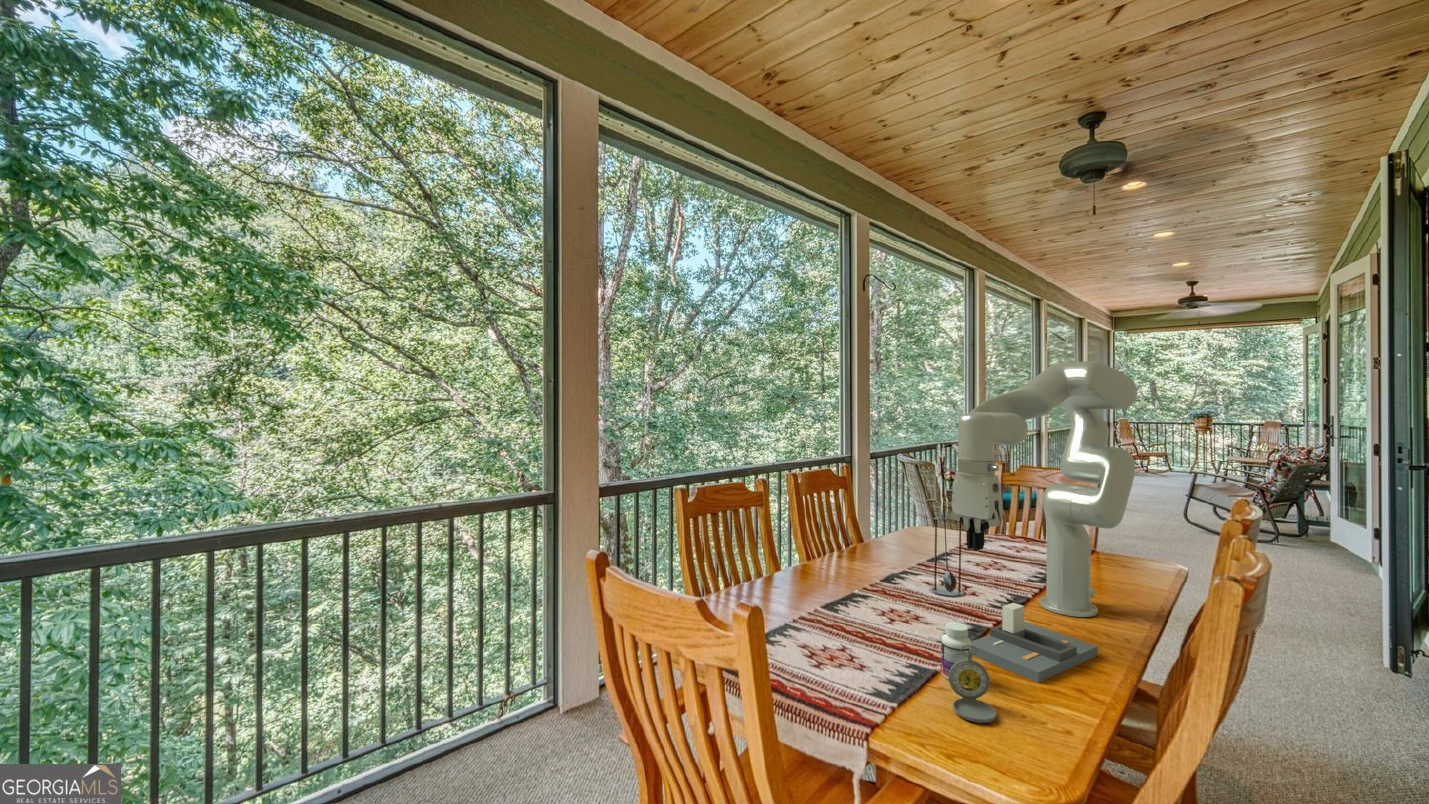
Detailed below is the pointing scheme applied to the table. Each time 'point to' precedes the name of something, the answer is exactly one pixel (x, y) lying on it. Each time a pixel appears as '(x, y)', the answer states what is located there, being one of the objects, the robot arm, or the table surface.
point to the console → (1033, 651)
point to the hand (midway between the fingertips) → (975, 548)
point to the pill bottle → (954, 646)
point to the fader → (1013, 619)
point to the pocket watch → (971, 689)
